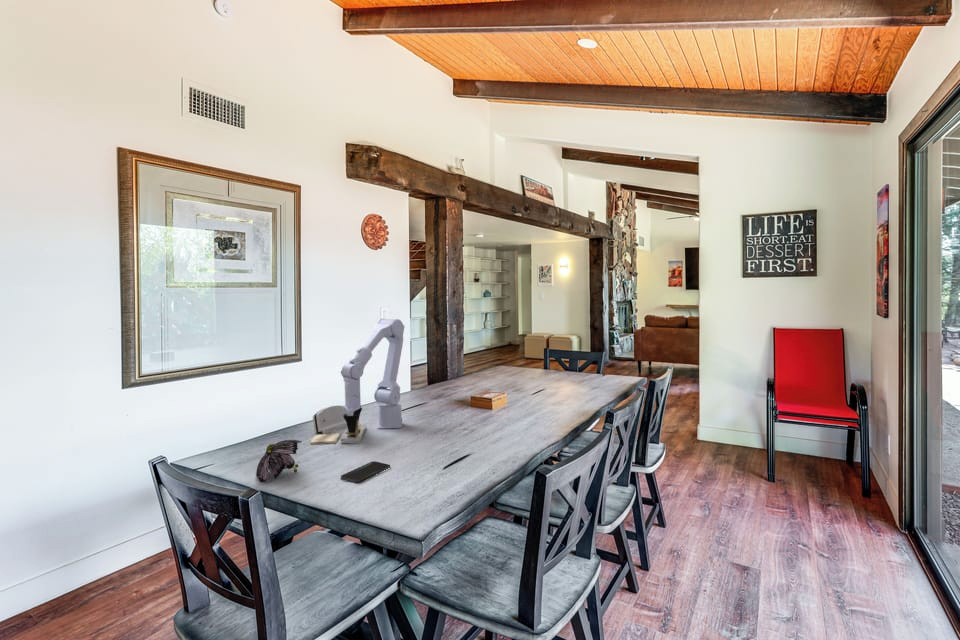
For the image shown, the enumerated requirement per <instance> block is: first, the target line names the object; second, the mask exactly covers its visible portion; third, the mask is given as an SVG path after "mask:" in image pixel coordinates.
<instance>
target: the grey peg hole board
mask: <svg viewBox="0 0 960 640" xmlns="http://www.w3.org/2000/svg"><path fill="white" fill-rule="evenodd" d="M359 426H360V433H357V434H347V427H346V428H345V430H344V432H343V434H342V435H341V437H340V444H341V443H350V444H361V442H362V440H363V437H364V435H365V433H364V432H366V430H367V424H366V423H364V424H363V423H362V424H360V423H359Z"/></svg>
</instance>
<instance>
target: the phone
mask: <svg viewBox="0 0 960 640" xmlns="http://www.w3.org/2000/svg"><path fill="white" fill-rule="evenodd" d="M388 468H390V469H391V464H389V463H388V464H387V463H385V462H378V461H370V462H367V463H365V464H363V465H361V466H359V467H357V468H355V469H353V470H350V471H347V472H346V473H343V474H342V475H340V480H342V481H345V480H346V482H348V483H349V482H350V483H353V482H354V484H360V483H363V482H365V481H367V479H368V480H369V478H370V479H372V478H373V476H374V477H376V476H377V475H376V474H378V475H379V473H380V472H382V471H384V470H386V469H388ZM388 470H389V469H388ZM386 471H387V470H386ZM384 472H385V471H384ZM382 473H383V472H382ZM380 474H381V473H380ZM375 475H376V476H375ZM371 477H372V478H371Z"/></svg>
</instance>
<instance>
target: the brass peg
mask: <svg viewBox="0 0 960 640" xmlns="http://www.w3.org/2000/svg"><path fill="white" fill-rule="evenodd" d="M359 424H360V418H359V419H357V423H356V430H355V433H349V431H348V426H347V427H346V428H347V434H357V433H360V426H359Z"/></svg>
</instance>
